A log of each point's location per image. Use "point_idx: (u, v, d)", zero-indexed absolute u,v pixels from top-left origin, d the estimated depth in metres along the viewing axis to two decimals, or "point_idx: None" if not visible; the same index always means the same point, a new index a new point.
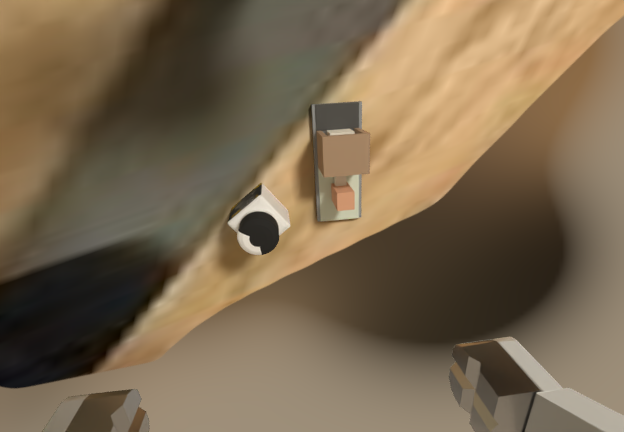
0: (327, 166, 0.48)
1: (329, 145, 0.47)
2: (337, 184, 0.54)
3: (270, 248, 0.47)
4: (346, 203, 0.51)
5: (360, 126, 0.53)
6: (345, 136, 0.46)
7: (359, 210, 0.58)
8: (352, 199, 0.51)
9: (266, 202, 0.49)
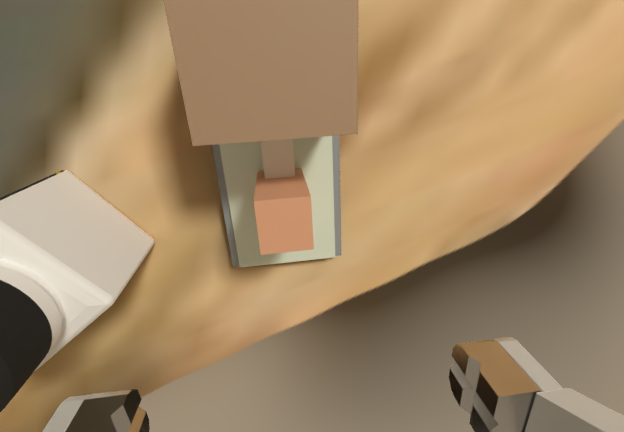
0: (199, 103, 0.13)
1: (192, 11, 0.12)
2: (268, 173, 0.19)
3: None
4: (286, 232, 0.16)
5: None
6: None
7: (336, 239, 0.23)
8: (305, 219, 0.16)
9: (5, 233, 0.14)
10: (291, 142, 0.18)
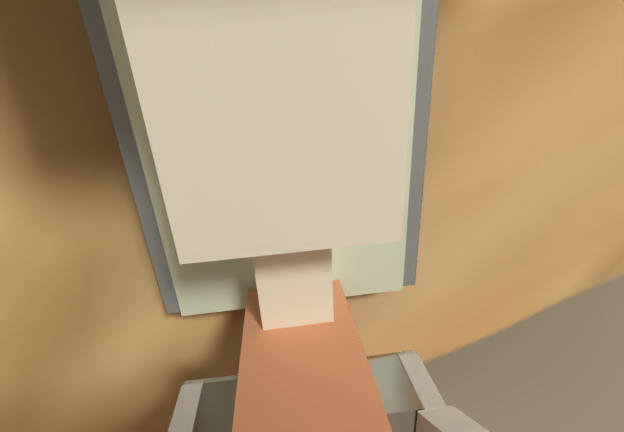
0: None
1: None
2: (272, 319, 0.08)
3: None
4: None
5: None
6: None
7: (408, 249, 0.10)
8: None
9: None
10: (328, 252, 0.07)
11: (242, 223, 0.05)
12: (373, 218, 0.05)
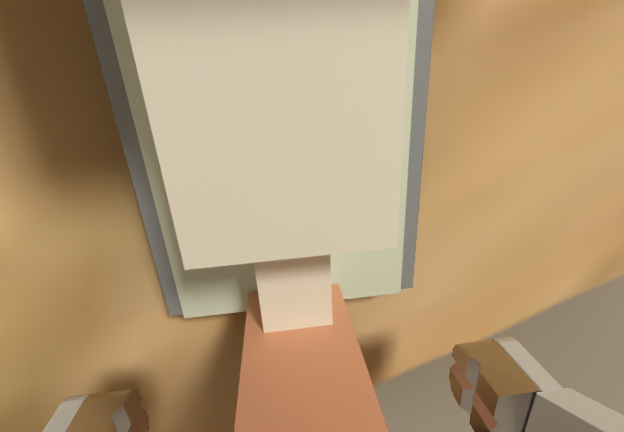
0: None
1: None
2: (273, 322, 0.08)
3: None
4: None
5: None
6: None
7: (406, 253, 0.10)
8: None
9: None
10: (327, 258, 0.08)
11: (244, 231, 0.05)
12: (370, 226, 0.06)
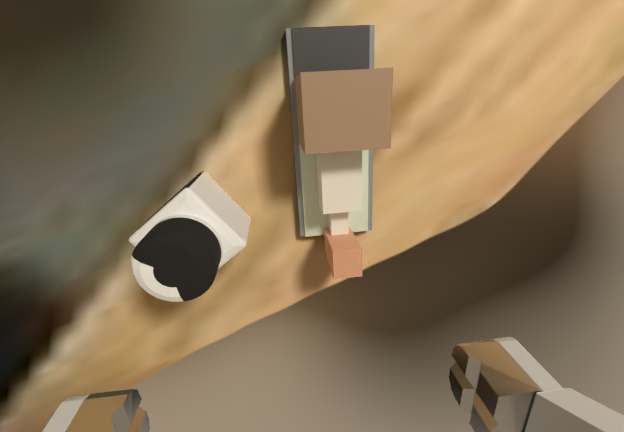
0: (311, 132, 0.25)
1: (314, 89, 0.24)
2: (333, 232, 0.33)
3: (199, 290, 0.24)
4: (348, 267, 0.31)
5: None
6: (345, 72, 0.24)
7: (369, 218, 0.35)
8: (358, 260, 0.31)
9: (199, 201, 0.27)
10: (347, 215, 0.33)
11: (334, 207, 0.31)
12: (356, 206, 0.31)
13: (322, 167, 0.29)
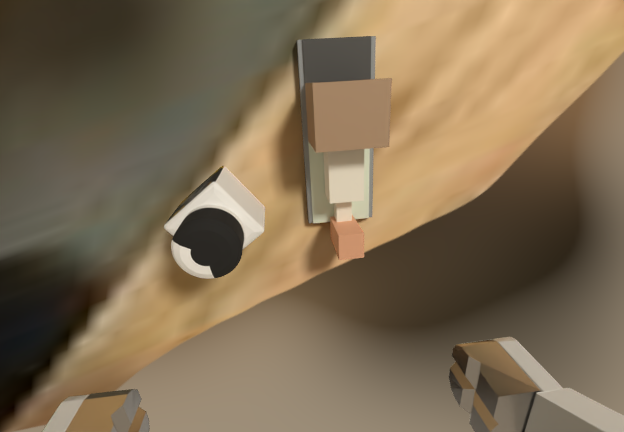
0: (321, 134, 0.29)
1: (323, 97, 0.28)
2: (339, 219, 0.38)
3: (227, 268, 0.29)
4: (352, 249, 0.35)
5: (372, 77, 0.34)
6: (350, 82, 0.28)
7: (369, 207, 0.40)
8: (361, 243, 0.35)
9: (224, 193, 0.31)
10: (351, 204, 0.37)
11: (339, 197, 0.35)
12: (359, 196, 0.35)
13: (329, 163, 0.33)
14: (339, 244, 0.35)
